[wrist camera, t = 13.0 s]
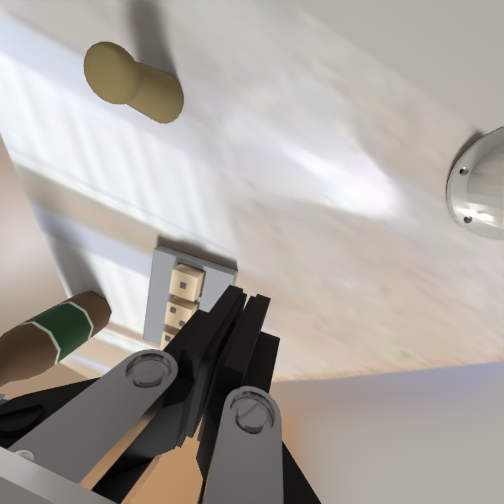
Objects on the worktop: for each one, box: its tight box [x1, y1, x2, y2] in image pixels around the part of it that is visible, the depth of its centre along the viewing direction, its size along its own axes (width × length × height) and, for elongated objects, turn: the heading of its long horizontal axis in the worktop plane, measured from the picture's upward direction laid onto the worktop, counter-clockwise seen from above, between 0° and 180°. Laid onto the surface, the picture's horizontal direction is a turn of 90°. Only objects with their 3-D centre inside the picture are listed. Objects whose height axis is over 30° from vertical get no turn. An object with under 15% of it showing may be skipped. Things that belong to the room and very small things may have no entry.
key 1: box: [169, 263, 206, 302], centre depth 39 cm, size 4×4×4 cm
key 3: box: [160, 325, 180, 351], centre depth 43 cm, size 4×4×4 cm
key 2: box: [164, 295, 200, 329], centre depth 41 cm, size 4×4×4 cm
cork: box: [84, 42, 184, 124], centre depth 30 cm, size 6×6×11 cm
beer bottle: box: [0, 291, 111, 387], centre depth 37 cm, size 8×8×24 cm
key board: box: [143, 246, 238, 345], centre depth 42 cm, size 13×17×2 cm
